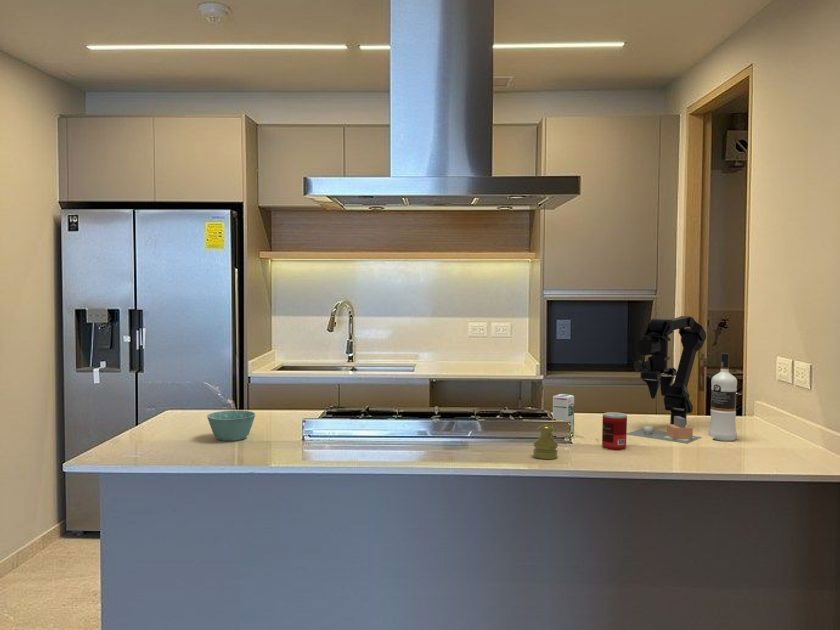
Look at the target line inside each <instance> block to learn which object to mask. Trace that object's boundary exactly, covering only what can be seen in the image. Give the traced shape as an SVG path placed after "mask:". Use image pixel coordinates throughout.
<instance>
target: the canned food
mask: <svg viewBox="0 0 840 630" xmlns="http://www.w3.org/2000/svg"><path fill="white" fill-rule="evenodd" d="M627 428H628V414H626V413H624V412H623V413H622V412H615V411H614V412H613V411H609V412H608V411H607V412H604V413H602V430H601V431H602V432H601V433H602V434H601V435H602V436H601V447H602V448H604V449H606V450H610V451H611V450H612V451H621V450H622V449H623V450H625V449H626V448H627V436H628V435H627V433H628V429H627ZM623 450H622V451H623Z"/></svg>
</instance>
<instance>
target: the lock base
mask: <svg viewBox="0 0 840 630" xmlns="http://www.w3.org/2000/svg"><path fill="white" fill-rule="evenodd" d="M653 428H654V426H652V425H644V426H643V428H641V427H640V428H639V429H636V430H633V431H630V432H627V436H635V437H641V438H647V439H653V440H659V441H660V440H661V441H667V442H674V443H679V444H686V445H689V444H690V443H692V442H695V441H697V440H699V439H702V438H703V437H702V436H696V435H693V436H692V439H673V438H671V437H669V436H667V435H666V431H661V430H656V429H655V430H654V429H653Z"/></svg>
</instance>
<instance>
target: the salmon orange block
mask: <svg viewBox="0 0 840 630" xmlns="http://www.w3.org/2000/svg"><path fill="white" fill-rule="evenodd" d="M685 424H686V425H685ZM689 426H690V425H687V421H686V419H685V418H682V417H680V416H674V424H670V423H669V424H668V423H667V424H666V429H665V430H666V431H665V432H666V435H667V436H669V437H671V438H673V439H692V436H694V435H693V432H694V431H693V430H694V429H693V427H692V426H690V427H689Z"/></svg>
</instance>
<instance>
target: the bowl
mask: <svg viewBox="0 0 840 630" xmlns="http://www.w3.org/2000/svg"><path fill="white" fill-rule="evenodd" d="M255 417H256V412H254V411H249V410H237V409H235V410H221V411H216V412H211V413H208V414H207V416H206V418H207V420H208V423H209V426H210V428H211V432H212V433H213V436H214V437H215V439H217V440H218V441H222V442H238V441H242V440H245V439H246V438H247V437H248V436H249V435H250V431H251V429H252V426H253V423H254V420H255Z"/></svg>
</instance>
